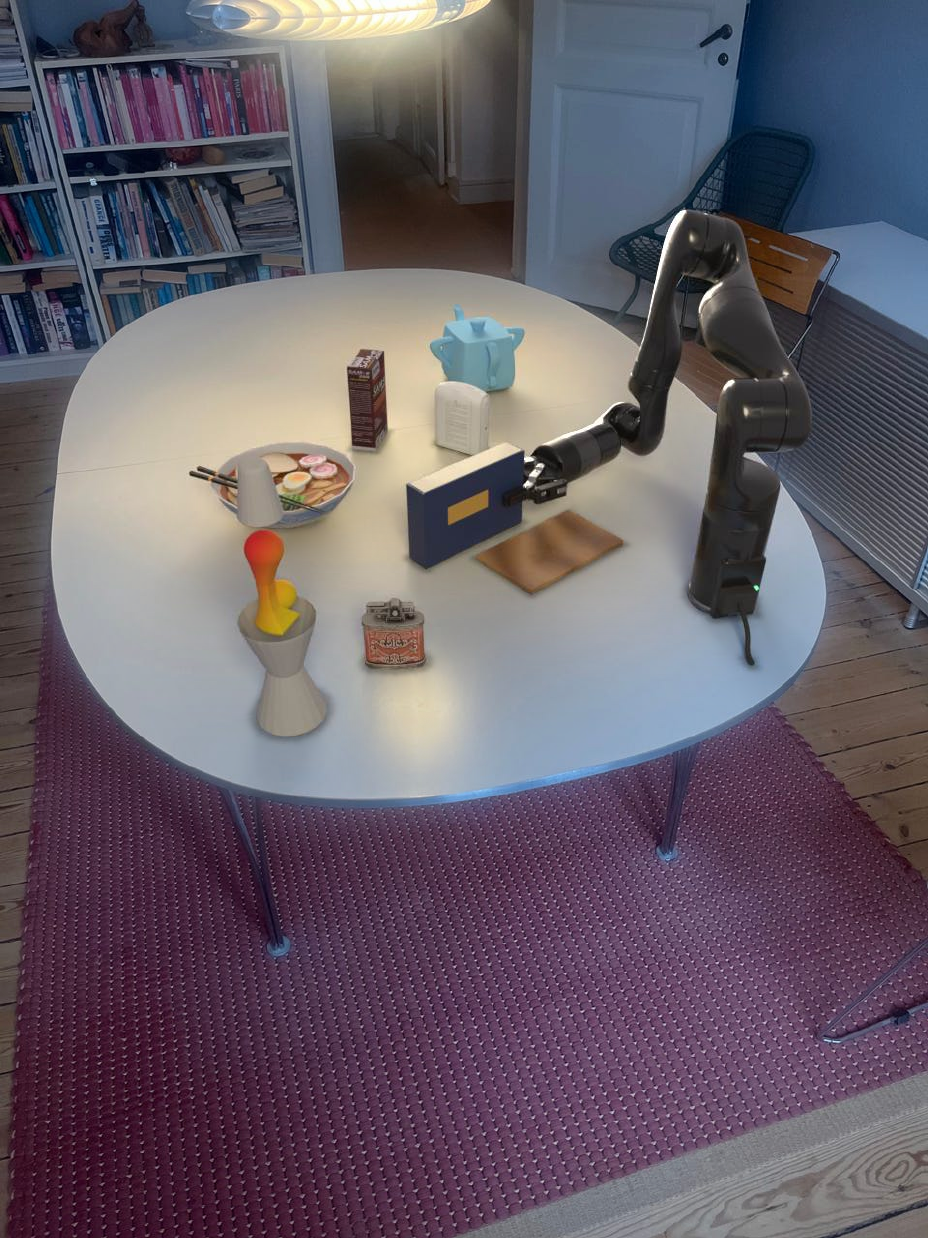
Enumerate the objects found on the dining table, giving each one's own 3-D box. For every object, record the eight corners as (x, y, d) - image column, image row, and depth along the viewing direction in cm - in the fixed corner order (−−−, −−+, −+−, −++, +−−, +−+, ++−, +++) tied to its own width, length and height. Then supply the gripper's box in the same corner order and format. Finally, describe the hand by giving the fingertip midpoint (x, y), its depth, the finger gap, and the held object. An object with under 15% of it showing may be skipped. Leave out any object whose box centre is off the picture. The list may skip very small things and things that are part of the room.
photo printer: (492, 449, 173) (493, 385, 165) (481, 459, 170) (481, 394, 162) (443, 436, 177) (442, 373, 169) (431, 445, 174) (430, 382, 166)
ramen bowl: (392, 502, 158) (389, 459, 153) (306, 571, 143) (300, 525, 137) (274, 465, 168) (268, 423, 163) (183, 526, 153) (173, 481, 148)
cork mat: (567, 513, 155) (568, 509, 155) (623, 544, 148) (623, 540, 148) (476, 559, 145) (476, 555, 145) (531, 594, 138) (531, 590, 137)
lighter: (425, 653, 128) (423, 593, 121) (425, 669, 125) (423, 609, 119) (365, 654, 127) (360, 594, 121) (364, 671, 125) (359, 610, 119)
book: (504, 512, 156) (506, 440, 148) (522, 522, 153) (525, 449, 145) (408, 558, 145) (405, 483, 137) (425, 569, 143) (423, 494, 135)
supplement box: (377, 452, 172) (371, 369, 162) (351, 450, 173) (344, 367, 163) (389, 431, 178) (385, 349, 169) (364, 428, 179) (359, 347, 169)
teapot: (531, 377, 197) (534, 313, 189) (495, 408, 186) (496, 341, 178) (455, 360, 204) (455, 298, 196) (415, 388, 193) (413, 323, 185)
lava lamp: (306, 745, 114) (268, 492, 92) (241, 726, 117) (189, 475, 95) (340, 698, 121) (312, 450, 99) (278, 680, 123) (238, 436, 102)
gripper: (537, 422, 158) (460, 455, 150) (601, 454, 150) (523, 490, 141) (535, 462, 163) (460, 496, 154) (597, 495, 155) (521, 532, 146)
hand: (491, 493), depth 148 cm, fingers open, 5 cm apart
